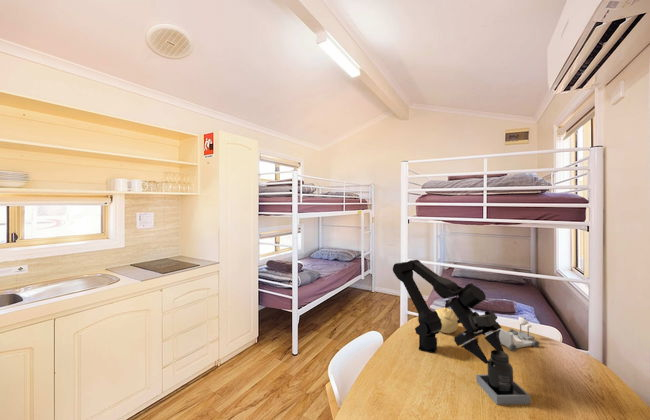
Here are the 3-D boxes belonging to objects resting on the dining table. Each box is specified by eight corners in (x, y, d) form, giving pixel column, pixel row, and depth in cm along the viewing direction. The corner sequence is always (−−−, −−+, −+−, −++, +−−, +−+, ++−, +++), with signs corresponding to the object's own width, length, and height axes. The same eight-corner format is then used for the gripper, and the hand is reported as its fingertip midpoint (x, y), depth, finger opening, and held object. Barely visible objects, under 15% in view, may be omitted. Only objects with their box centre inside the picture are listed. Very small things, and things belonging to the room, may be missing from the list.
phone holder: (517, 313, 121) (543, 323, 110) (517, 334, 121) (544, 346, 110) (486, 317, 117) (510, 329, 106) (486, 339, 117) (511, 352, 106)
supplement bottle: (515, 391, 82) (515, 353, 82) (511, 402, 78) (510, 362, 78) (490, 380, 87) (490, 345, 87) (485, 390, 83) (484, 353, 83)
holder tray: (497, 404, 77) (497, 396, 77) (476, 382, 88) (476, 374, 88) (530, 404, 78) (530, 395, 78) (506, 381, 88) (506, 374, 88)
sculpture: (457, 338, 117) (457, 315, 117) (429, 332, 123) (429, 309, 123) (459, 328, 127) (459, 306, 126) (434, 323, 133) (433, 302, 133)
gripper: (462, 308, 84) (497, 359, 75) (495, 298, 93) (531, 343, 83) (441, 322, 92) (471, 370, 82) (474, 312, 100) (505, 355, 90)
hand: (495, 359), depth 84 cm, fingers open, 9 cm apart
